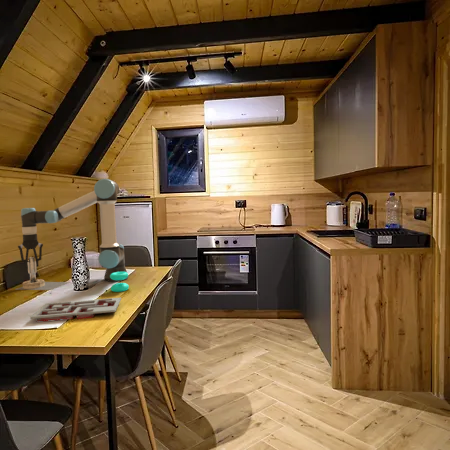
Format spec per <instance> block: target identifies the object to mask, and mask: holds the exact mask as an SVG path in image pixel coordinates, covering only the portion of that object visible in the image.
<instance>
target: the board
mask: <svg viewBox="0 0 450 450" xmlns="http://www.w3.org/2000/svg"><path fill="white" fill-rule="evenodd" d="M44 283H45V285H44V286H42V287H39V288H33V289H24V288H23V286H21V287H17V288H15V289H14V290H21V291H22V290H24V291H25V290H27V291H28V290H29V291H30V290H31V291H35V290H36V291H52V290H55V289H57V288H60V287H62V286H65V285H67V284H69V283H70V284H71V282H70V281H66V282H65V281H44Z"/></svg>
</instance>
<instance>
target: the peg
mask: <svg viewBox="0 0 450 450" xmlns="http://www.w3.org/2000/svg"><path fill="white" fill-rule="evenodd" d="M35 261H36V259H35V256H30V257H28V262H29V269H30V273H29V281H30V283H33V282H36V280H37V277H36V274H37V273H35Z"/></svg>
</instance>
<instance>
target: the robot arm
mask: <svg viewBox="0 0 450 450" xmlns="http://www.w3.org/2000/svg"><path fill="white" fill-rule="evenodd" d="M119 192H120V187H119V184H118V183H117V182H116V181H114V180H112V179H110V178H101V179H98V181H97V182H95V184H94V187H93V191H91V192H88V193H86V194H84V195H81V196H80V197H78V198H76V199H74V200H71V201H69V202H67V203H65V204H63V205H61V206H59V207H56V208H55V209H51V210H50V209H49V210H40V211H39V210H36V208H35V207H24V208H21V210H20V219H21V230H22V231H21V232H22V242H21V244H18V245H17V248H18V249H19V254H20V260H21V262H23V263H24V264H25V268H26V269H27V272H28V273H27V274H30V269H29V251H30V250H33V255H34V259H35V274H37V267H39V261H41V260H42V257H43V255H42V253H43V252H42V249H43V247H44V244H43V243H40V242H39V241H38V234H37V233H38V229H37V224H55V223H58V222H61V221H62V220H63V219H65V218H67V217H69V216H72V215H74V214H76V213H79V212H81V211H82V210H84V209H87V208H88V207H91V206H92V205H94V204H99V212H100V213H99V215H100V217H99V218H100V229H101V231H100V233H101V244H100V245H99V255H98V259H97V260H98V263H99V265H100V266H101V267H103V268H105V272H104V277H103V280H104V282H109V283H110V282H121V281H125V280H128V279H129V276H128V277H127V278H126V279H123V280H112V279H111V278H110V275H111V274H112V273H115V272H127V273H128V271H127V268H126V265H125V263H126V261H125V247H124V245H123V244H120V243H118V241H117V223H116V207H115V206H116V203H117V202H118V194H119ZM37 246H38V248H39V252H38V254H37V251H36V248H37ZM23 247H24V249H26V251H25V252H26V253H25V258H24V252H23Z"/></svg>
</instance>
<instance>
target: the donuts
mask: <svg viewBox="0 0 450 450" xmlns="http://www.w3.org/2000/svg"><path fill="white" fill-rule="evenodd" d="M127 277H128V278H129V273H128V271H127V272H115V273H112V274H111V275H110V278H111V279H112V280H122V281H124V280H123V279H126V278H127ZM126 280H127V279H126ZM129 288H130V286H129V284H128V283H126V282H118V283H114V284H112V285H111V287H110V291H112V292H114V293H120V292H121V293H122V292H125V291H127V290H129Z"/></svg>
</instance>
